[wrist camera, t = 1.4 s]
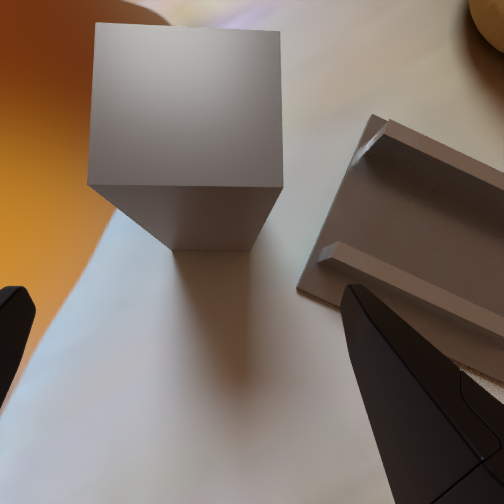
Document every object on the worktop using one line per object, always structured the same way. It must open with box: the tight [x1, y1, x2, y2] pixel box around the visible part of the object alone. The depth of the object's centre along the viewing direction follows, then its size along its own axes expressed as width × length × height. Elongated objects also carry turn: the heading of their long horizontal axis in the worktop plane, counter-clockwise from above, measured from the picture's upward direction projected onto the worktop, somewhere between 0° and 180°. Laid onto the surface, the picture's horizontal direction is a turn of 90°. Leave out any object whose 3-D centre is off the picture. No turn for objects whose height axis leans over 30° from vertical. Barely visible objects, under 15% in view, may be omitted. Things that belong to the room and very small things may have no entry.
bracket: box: [296, 114, 504, 383], centre depth 21 cm, size 13×15×4 cm
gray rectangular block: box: [87, 23, 283, 250], centre depth 15 cm, size 5×5×13 cm
